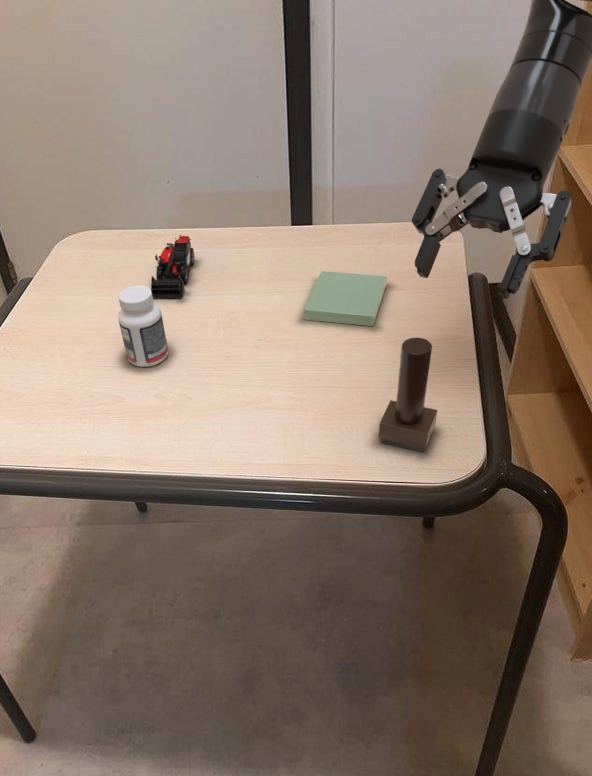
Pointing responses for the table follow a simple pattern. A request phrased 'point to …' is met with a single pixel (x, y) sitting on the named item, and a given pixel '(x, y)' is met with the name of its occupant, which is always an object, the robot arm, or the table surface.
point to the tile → (345, 298)
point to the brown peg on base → (410, 400)
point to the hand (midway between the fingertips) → (461, 285)
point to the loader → (173, 268)
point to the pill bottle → (142, 327)
